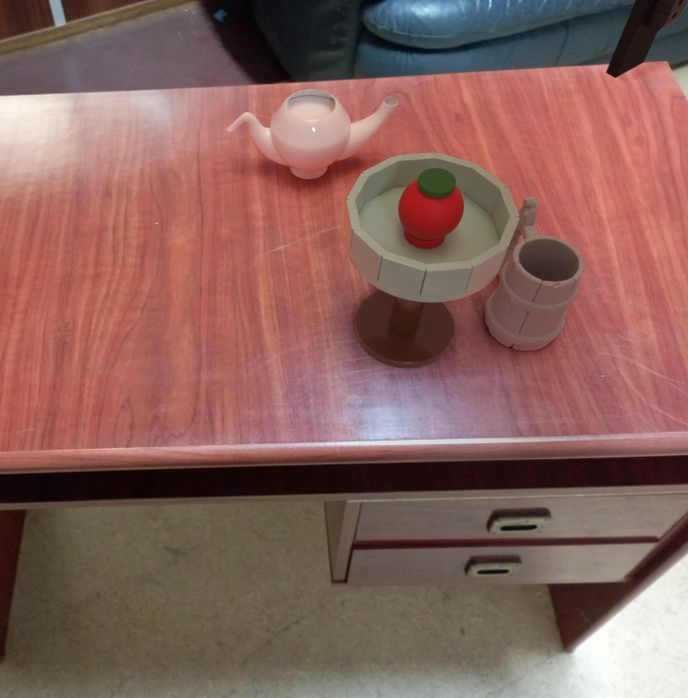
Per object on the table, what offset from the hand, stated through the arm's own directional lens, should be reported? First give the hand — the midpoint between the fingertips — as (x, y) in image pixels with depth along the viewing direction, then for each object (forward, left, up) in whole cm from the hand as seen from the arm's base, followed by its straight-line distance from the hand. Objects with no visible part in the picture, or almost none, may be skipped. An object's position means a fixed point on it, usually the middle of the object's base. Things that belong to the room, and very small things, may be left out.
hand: (542, 23), depth 50 cm
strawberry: (+1, +6, -18) cm, 19 cm away
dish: (+1, +6, -32) cm, 33 cm away
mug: (-3, -5, -32) cm, 33 cm away
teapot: (+27, -1, -32) cm, 42 cm away
